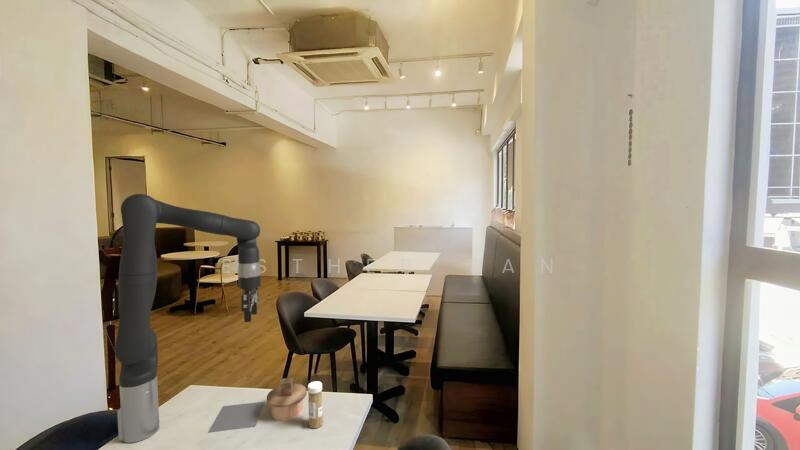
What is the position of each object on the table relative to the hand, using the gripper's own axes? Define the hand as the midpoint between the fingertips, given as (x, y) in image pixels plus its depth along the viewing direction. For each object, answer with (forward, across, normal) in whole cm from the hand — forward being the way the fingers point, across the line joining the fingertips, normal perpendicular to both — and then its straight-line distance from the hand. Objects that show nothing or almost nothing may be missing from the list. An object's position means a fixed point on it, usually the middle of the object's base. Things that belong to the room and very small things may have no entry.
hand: (251, 317), depth 121 cm
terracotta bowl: (+30, +12, +14) cm, 36 cm away
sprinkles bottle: (+30, +21, +24) cm, 44 cm away
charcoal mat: (+30, +12, -2) cm, 32 cm away
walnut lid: (+24, +12, +14) cm, 31 cm away
